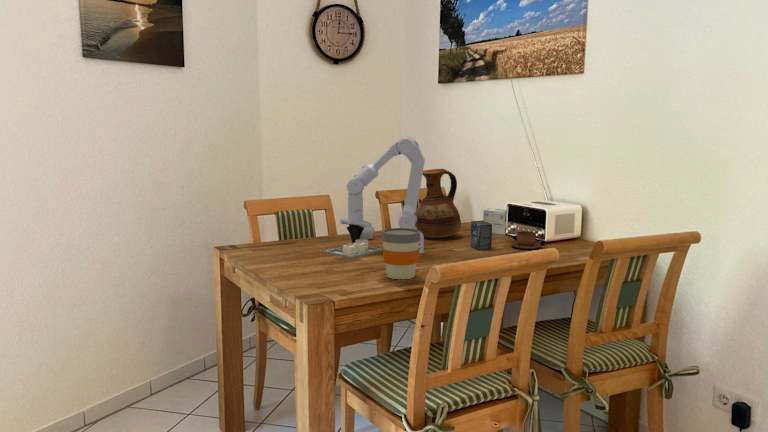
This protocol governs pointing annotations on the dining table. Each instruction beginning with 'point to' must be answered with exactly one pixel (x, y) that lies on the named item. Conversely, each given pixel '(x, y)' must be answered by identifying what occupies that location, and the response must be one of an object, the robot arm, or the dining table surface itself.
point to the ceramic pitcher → (438, 207)
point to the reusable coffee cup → (400, 252)
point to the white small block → (363, 241)
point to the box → (481, 235)
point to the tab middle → (360, 247)
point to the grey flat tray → (340, 253)
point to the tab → (349, 249)
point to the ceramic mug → (367, 233)
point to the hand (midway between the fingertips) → (355, 244)
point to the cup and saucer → (526, 240)
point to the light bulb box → (496, 220)
